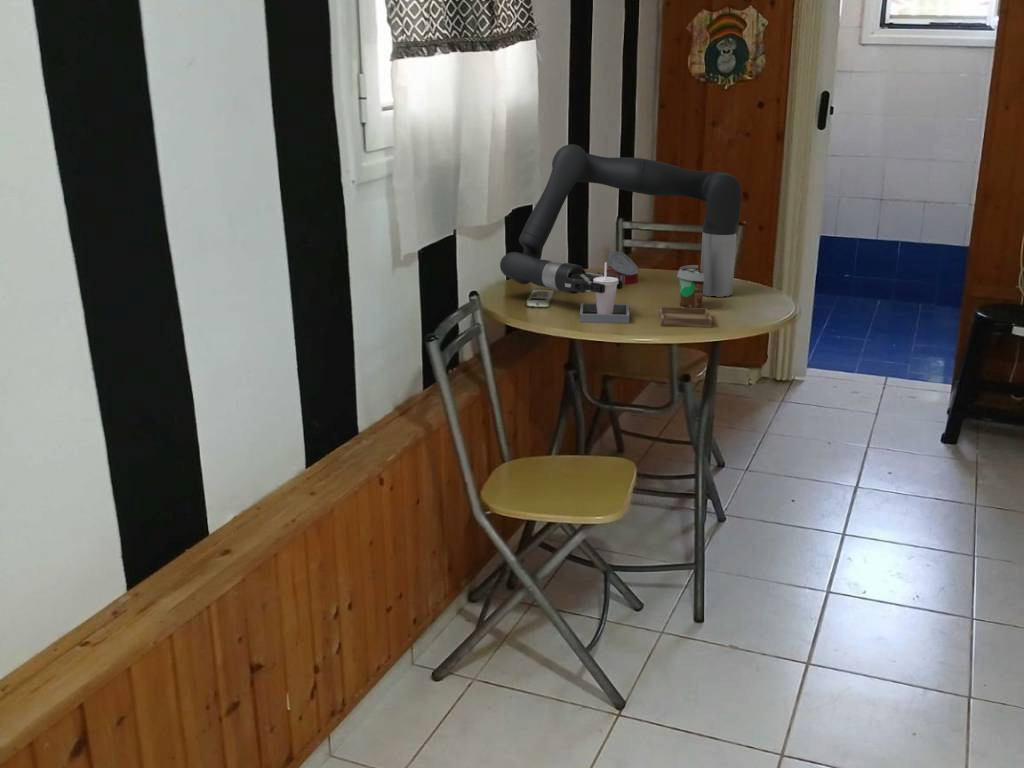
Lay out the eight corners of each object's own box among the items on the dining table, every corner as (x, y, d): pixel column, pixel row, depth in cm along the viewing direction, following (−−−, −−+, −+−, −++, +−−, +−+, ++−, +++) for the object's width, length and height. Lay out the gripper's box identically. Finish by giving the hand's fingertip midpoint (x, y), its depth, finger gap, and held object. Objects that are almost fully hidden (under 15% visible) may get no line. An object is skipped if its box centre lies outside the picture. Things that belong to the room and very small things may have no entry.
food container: (673, 300, 283) (674, 264, 280) (695, 301, 283) (698, 264, 280) (678, 311, 271) (680, 273, 269) (702, 311, 271) (704, 273, 268)
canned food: (628, 294, 314) (645, 264, 312) (631, 297, 304) (648, 267, 302) (595, 275, 313) (612, 246, 311) (597, 278, 303) (614, 248, 301)
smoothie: (589, 318, 263) (590, 263, 259) (595, 312, 269) (597, 258, 264) (613, 320, 261) (615, 265, 257) (620, 314, 267) (622, 260, 262)
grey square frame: (580, 310, 271) (580, 303, 270) (627, 312, 270) (628, 304, 269) (579, 322, 259) (579, 314, 259) (629, 323, 258) (629, 315, 258)
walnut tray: (658, 314, 268) (659, 307, 267) (706, 315, 267) (707, 308, 266) (661, 326, 256) (661, 318, 255) (711, 327, 255) (712, 319, 254)
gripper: (544, 266, 266) (594, 276, 255) (582, 259, 276) (631, 268, 264) (544, 295, 268) (593, 306, 257) (581, 287, 278) (630, 297, 267)
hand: (612, 287), depth 261 cm, fingers closed on smoothie, 6 cm apart
